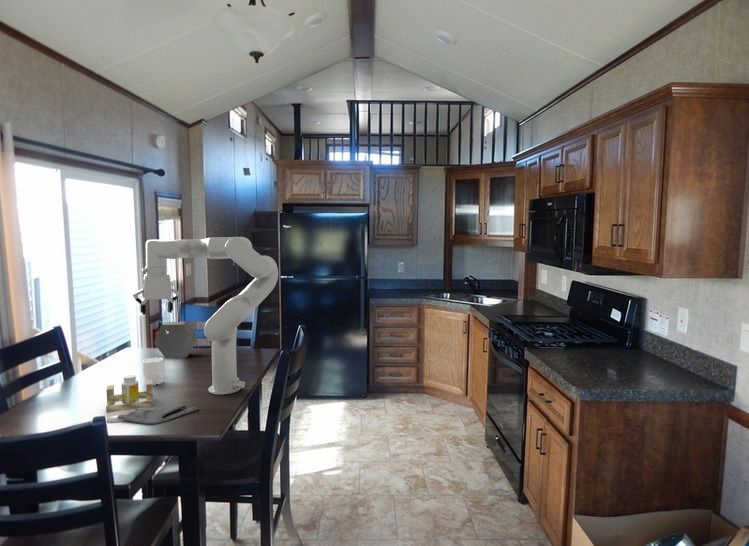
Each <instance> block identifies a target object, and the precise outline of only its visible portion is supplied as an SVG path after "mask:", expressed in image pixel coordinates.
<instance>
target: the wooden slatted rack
mask: <svg viewBox="0 0 749 546" xmlns="http://www.w3.org/2000/svg"><path fill="white" fill-rule="evenodd" d="M145 386H146V390H141V391H140V390H139V398H143V396H144V397H146V400H139V401H138V402H131V403H117V404H115V401H120V400H119V399H122V393H116V394H115V386H114V384H109V385H107V387H106V388H105V389H106V406H105V407H106V408H105V411H106V413H111V412H114V411H119V410H125V409H126V410H132V408H133V409H140V408H146V407H152V406H154V393H153V392H154V391H153V389H154V388H153V385H152V380H150V381H146V384H145ZM114 400H115V401H114Z"/></svg>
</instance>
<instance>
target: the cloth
mask: <svg viewBox="0 0 749 546" xmlns="http://www.w3.org/2000/svg"><path fill="white" fill-rule="evenodd" d="M198 410H200V408H198V407H197V406H192V407H187V405H185V404H181V405H173V406H171V405H170V406H167V407H165V408H156V409H154V408H153V409H151V408H134V410H133V412H130V413H129V414H125V415H118V419H123V420H125V421H129V422H134V423H140V424H149V425H150V424H151V425H152V424H154V425H155V424H159V423H163V422H167V421H169V420H172V419H176V418H177V417H181V416H184V415H186V414H189V413H192V412H196V411H198Z"/></svg>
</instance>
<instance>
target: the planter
mask: <svg viewBox="0 0 749 546" xmlns="http://www.w3.org/2000/svg"><path fill="white" fill-rule="evenodd" d="M167 332H168V333H167ZM197 339H198V335H197V333H195V331H194V330H193V328H192V327H191V326H190V325H189V323H188V321H166V322H164V323H162V324H161V325H160V328H159V329H158V332H157V335H156V337H155V339H154V342H153V344H154V346H156V348H157V349H158V351H159V352H160V353H161V354H162V356H163V357H164V359H186V358H188V357H189V356H190V355H191V352H192V350H193V348H194V346H195V343H196V340H197Z"/></svg>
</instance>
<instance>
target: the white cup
mask: <svg viewBox="0 0 749 546" xmlns="http://www.w3.org/2000/svg"><path fill="white" fill-rule="evenodd" d="M142 370H143V378H144V385H146V381H150V380H152V386H156V384H158V385H161V384H162V383H163V378H164V377H163V376H164V358H162V357H150V358H146V359H143V360H142Z"/></svg>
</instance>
